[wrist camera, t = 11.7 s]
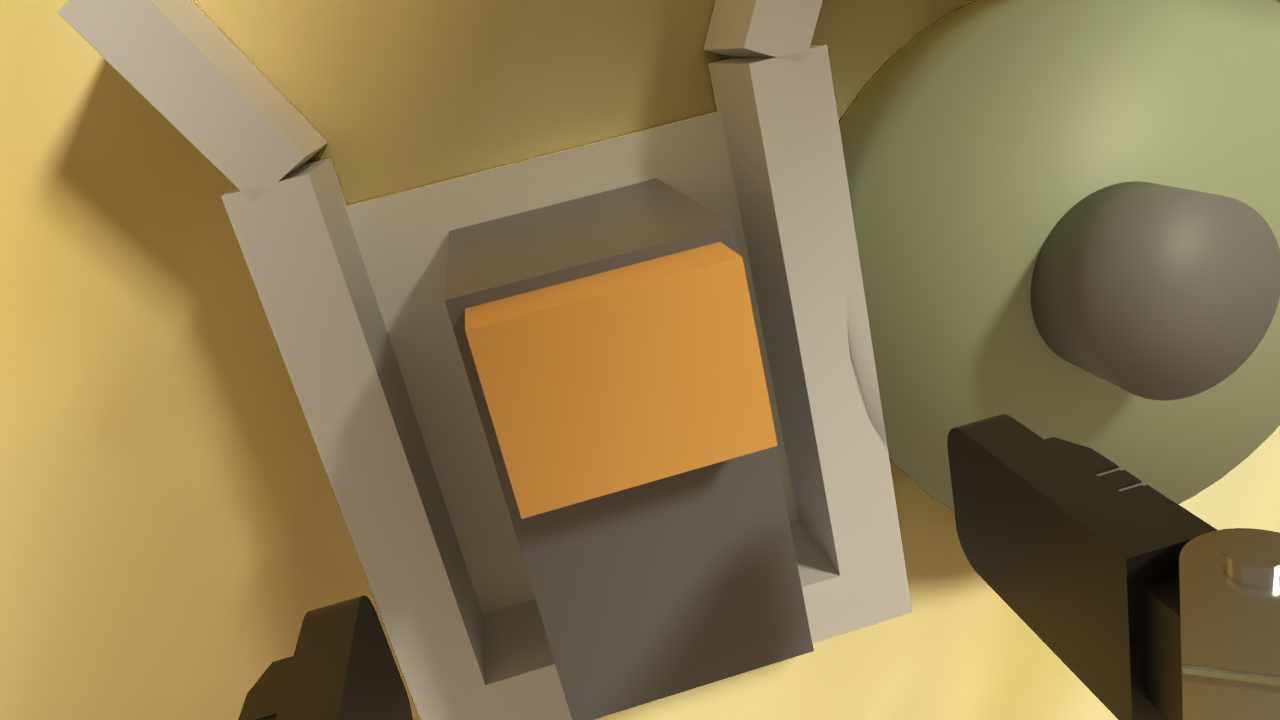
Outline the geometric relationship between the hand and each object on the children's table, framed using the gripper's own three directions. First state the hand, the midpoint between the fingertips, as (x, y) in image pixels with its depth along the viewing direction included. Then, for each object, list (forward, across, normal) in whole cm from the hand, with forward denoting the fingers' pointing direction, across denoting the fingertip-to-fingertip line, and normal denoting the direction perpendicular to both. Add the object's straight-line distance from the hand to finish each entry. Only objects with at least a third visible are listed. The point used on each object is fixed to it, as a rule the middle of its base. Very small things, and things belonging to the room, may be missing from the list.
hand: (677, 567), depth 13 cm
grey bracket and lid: (+9, -5, -1) cm, 11 cm away
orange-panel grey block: (+9, 0, 0) cm, 9 cm away
